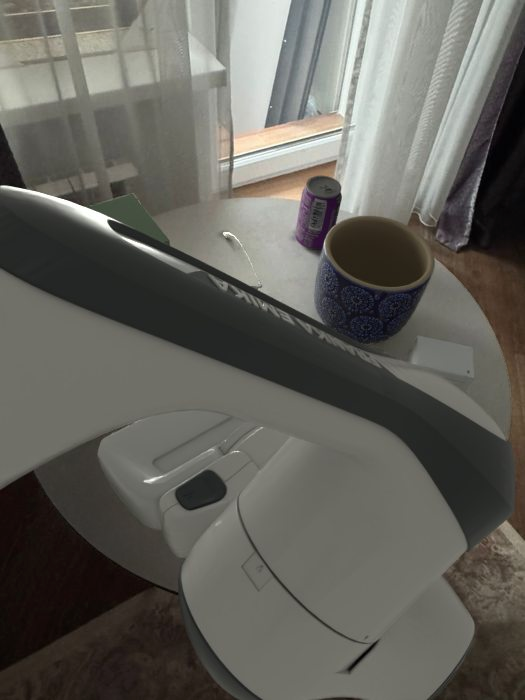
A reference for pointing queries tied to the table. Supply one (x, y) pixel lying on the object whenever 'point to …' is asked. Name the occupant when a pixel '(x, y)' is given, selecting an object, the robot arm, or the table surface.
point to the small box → (444, 359)
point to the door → (131, 215)
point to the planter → (371, 277)
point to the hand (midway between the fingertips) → (179, 363)
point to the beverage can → (318, 210)
